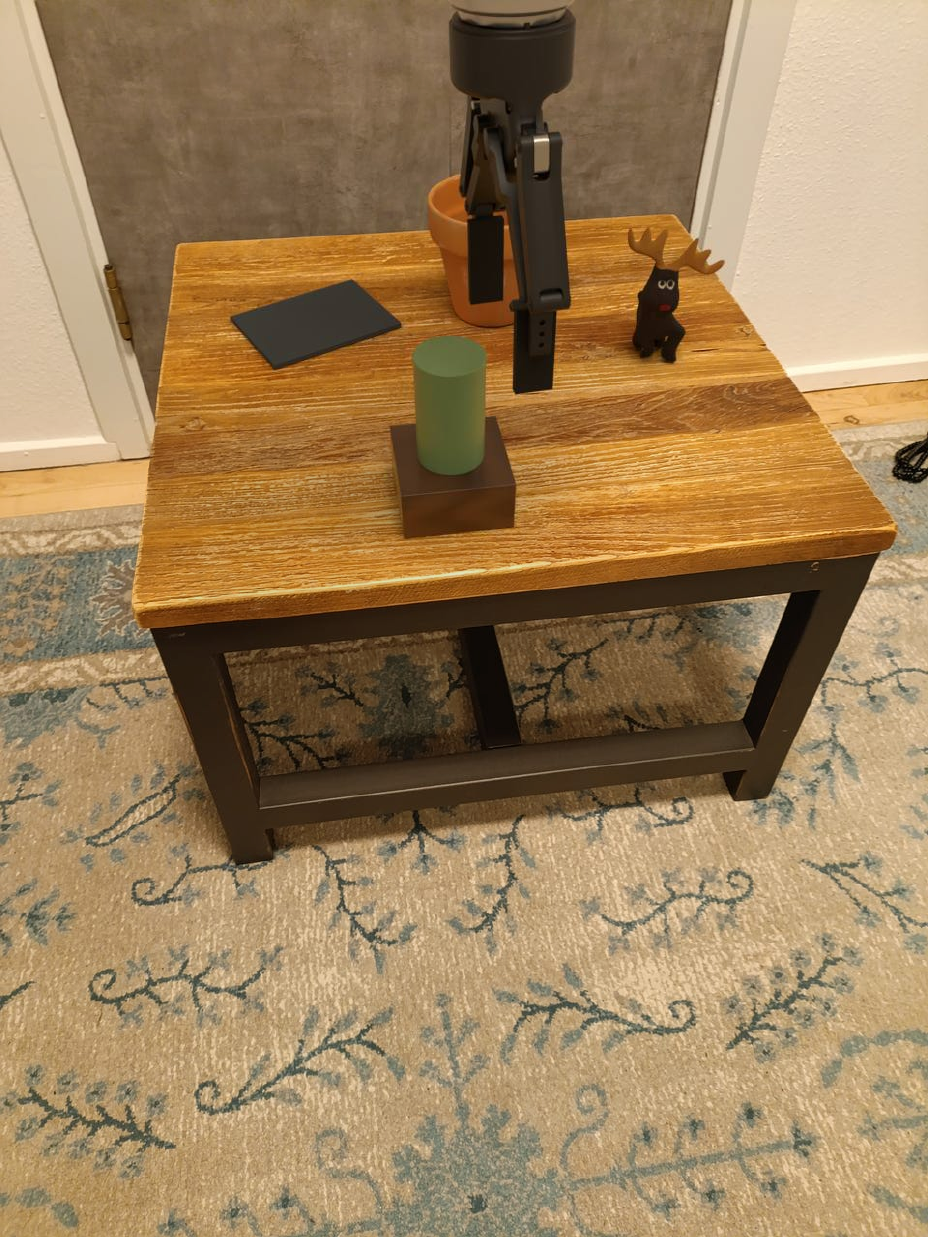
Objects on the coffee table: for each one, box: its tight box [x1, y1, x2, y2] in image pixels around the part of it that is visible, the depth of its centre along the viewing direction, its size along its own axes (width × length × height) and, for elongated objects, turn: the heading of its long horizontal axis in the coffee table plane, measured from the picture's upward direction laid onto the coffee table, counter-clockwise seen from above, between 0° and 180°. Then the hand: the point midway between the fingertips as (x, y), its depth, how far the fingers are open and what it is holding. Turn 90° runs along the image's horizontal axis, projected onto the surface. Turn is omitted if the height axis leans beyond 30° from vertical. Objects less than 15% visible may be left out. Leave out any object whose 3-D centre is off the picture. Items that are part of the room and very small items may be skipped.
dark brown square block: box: [389, 415, 517, 539], centre depth 82 cm, size 10×10×5 cm
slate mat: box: [229, 278, 402, 371], centre depth 103 cm, size 16×12×1 cm
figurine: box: [627, 227, 726, 363], centre depth 94 cm, size 11×7×15 cm
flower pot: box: [427, 173, 519, 328], centre depth 101 cm, size 14×14×13 cm
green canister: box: [412, 335, 488, 475], centre depth 76 cm, size 6×6×10 cm
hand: (507, 342), depth 68 cm, fingers open, 13 cm apart
